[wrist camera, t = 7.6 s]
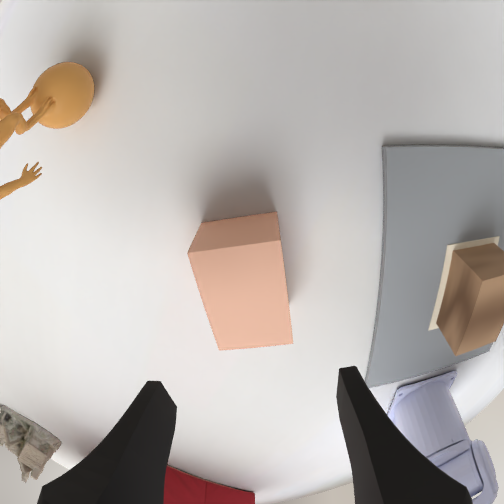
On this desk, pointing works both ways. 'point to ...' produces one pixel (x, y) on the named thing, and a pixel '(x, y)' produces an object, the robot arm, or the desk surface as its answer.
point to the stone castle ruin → (27, 442)
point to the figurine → (48, 109)
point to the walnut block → (473, 298)
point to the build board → (429, 249)
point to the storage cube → (200, 490)
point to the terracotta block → (243, 281)
